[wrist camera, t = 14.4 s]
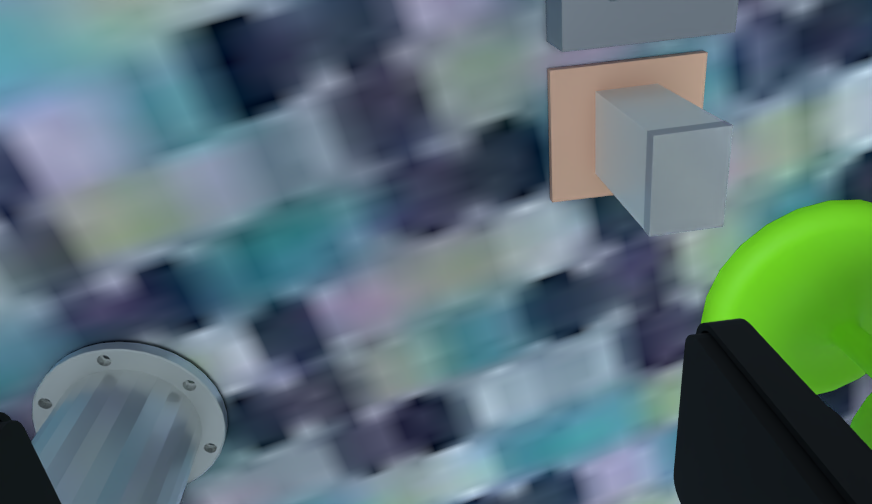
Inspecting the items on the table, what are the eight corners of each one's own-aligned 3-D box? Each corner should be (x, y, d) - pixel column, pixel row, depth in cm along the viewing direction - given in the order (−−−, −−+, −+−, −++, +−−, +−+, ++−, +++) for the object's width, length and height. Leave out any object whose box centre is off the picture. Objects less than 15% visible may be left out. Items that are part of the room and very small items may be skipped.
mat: (691, 181, 41) (696, 184, 41) (550, 198, 41) (552, 202, 40) (702, 50, 38) (707, 52, 37) (547, 68, 37) (549, 70, 37)
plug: (654, 166, 40) (723, 226, 32) (595, 173, 40) (649, 236, 32) (657, 82, 38) (733, 125, 30) (595, 91, 38) (653, 135, 30)
